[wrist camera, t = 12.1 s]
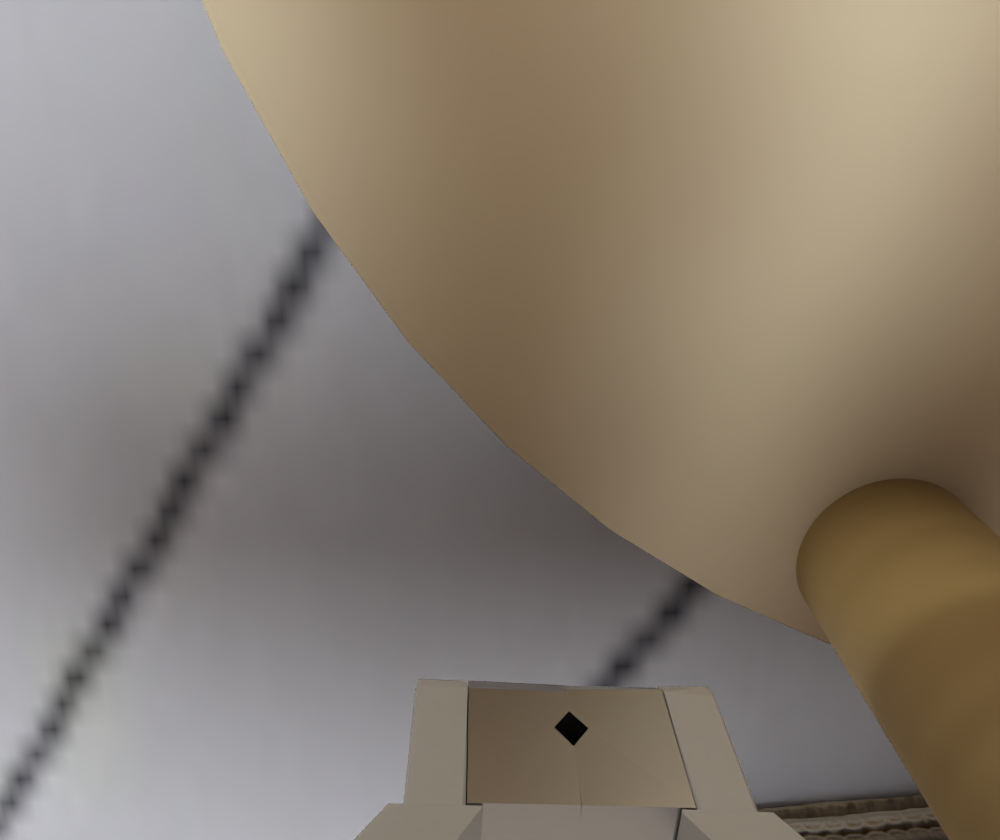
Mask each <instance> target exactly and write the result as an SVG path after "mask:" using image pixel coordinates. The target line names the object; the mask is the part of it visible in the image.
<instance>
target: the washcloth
mask: <svg viewBox="0 0 1000 840" xmlns="http://www.w3.org/2000/svg"><path fill="white" fill-rule="evenodd" d="M757 811H758V812H773V813H775V814H776V815H777V816H778V817H779V818H781V819H782V820H783V821H784V822H785V823H786V824H788V825H789V826H790V827H791V828H792V829H794V830H795V831H796V832H797V833H798V834H800V835H801V836H802V837H803V838H804V839H806V840H949V839H948V837H947V836H946V834H945V832H944V831H943V829H942V827H941V826H940V824H939V823H938V821H937V819H936V818H935V816H934V814H933V813H932V811H931V809H930V808H929V806H928V804H927V803H926V801H925V799H924V798H923V796H922V794H921V795H912V796H908V797H894V798H885V799H866V800H855V799H854V800H849V801H829V802H820V803H811V804H804V805H798V806H785V807H779V808H763V809H759V810H757Z"/></svg>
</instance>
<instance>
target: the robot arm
mask: <svg viewBox="0 0 1000 840" xmlns="http://www.w3.org/2000/svg"><path fill="white" fill-rule="evenodd" d="M467 693H468V695H467ZM354 840H806V839H804V838H803V837H802V836H801V835H800V834H798V833H797V832H796V831H795V830H794V829H792V828H791V827H790V826H789V825H788V824H786V823H785V822H784V821H783V820H782V819H781V818H779V817H778V816H777V815H776V814H775V813H773V812H758V811H757V808H756V806H755V803H754V800H753V798H752V795H751V792H750V790H749V787H748V784H747V782H746V779H745V777H744V774H743V771H742V769H741V766H740V763H739V761H738V758H737V755H736V753H735V750H734V748H733V745H732V742H731V740H730V737H729V734H728V732H727V729H726V726H725V724H724V721H723V718H722V716H721V713H720V711H719V708H718V705H717V703H716V700H715V697H714V695H713V693H712V692H711V691H710V690H709V689H708V688H707V687H658V688H642V687H597V686H564V685H546V684H526V683H507V682H487V681H469V682H468V687H467V682H466V681H454V680H432V679H419V680H418V683H417V686H416V689H415V698H414V707H413V717H412V727H411V736H410V746H409V756H408V765H407V775H406V785H405V794H404V804H387V805H386V806H385V807H384V808H383V809H382V811H381V812H380V813H379V814H378V815H377V816H376V817H375V818H374V819H373V820H372V821H371V822H370V823H369V824H368V825H367V826H366V827H365V829H364V830H363V831H362V832H361V833H360V834H359V835H358V836H357V837H356V838H355V839H354Z"/></svg>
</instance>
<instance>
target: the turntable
mask: <svg viewBox="0 0 1000 840" xmlns="http://www.w3.org/2000/svg"><path fill="white" fill-rule="evenodd" d="M202 2H203V4H204V7H205V9H206V12H207V14H208V16H209V19H210V21H211V24H212V26H213V28H214V31H215V33H216V35H217V38H218V40H219V43H220V45H221V47H222V50H223V52H224V54H225V55H226V57H227V59H228V61H229V63H230V64H231V66H232V68H233V70H234V72H235V73H236V75H237V77H238V79H239V80H240V82H241V84H242V86H243V88H244V89H245V91H246V93H247V95H248V97H249V98H250V100H251V102H252V104H253V106H254V107H255V109H256V111H257V113H258V114H259V116H260V118H261V120H262V122H263V123H264V125H265V127H266V129H267V131H268V132H269V134H270V136H271V138H272V140H273V141H274V143H275V145H276V147H277V149H278V150H279V152H280V154H281V156H282V157H283V159H284V161H285V163H286V165H287V166H288V168H289V170H290V172H291V174H292V175H293V177H294V179H295V181H296V183H297V184H298V186H299V188H300V190H301V191H302V193H303V195H304V197H305V199H306V200H307V202H308V204H309V206H310V208H311V209H312V211H313V212H314V214H315V215H316V217H317V218H318V219H319V221H320V222H321V223H322V225H323V226H324V228H325V229H326V230H327V232H328V233H329V234H330V236H331V237H332V238H333V240H334V241H335V243H336V244H337V245H338V247H339V248H340V249H341V251H342V252H343V254H344V255H345V256H346V258H347V259H348V260H349V262H350V263H351V265H352V266H353V267H354V269H355V270H356V271H357V273H358V274H359V275H360V277H361V278H362V280H363V281H364V282H365V284H366V285H367V286H368V288H369V289H370V291H371V292H372V293H373V295H374V296H375V297H376V299H377V300H378V301H379V303H380V304H381V306H382V307H383V308H384V310H385V311H386V312H387V314H388V315H389V317H390V318H391V319H392V321H393V322H394V323H395V325H396V326H397V328H398V329H399V330H400V332H401V333H402V334H403V336H404V337H405V338H406V340H407V341H408V342H409V343H410V344H411V345H412V347H413V348H414V349H415V350H416V351H417V352H418V353H419V354H420V355H421V356H422V357H423V358H424V359H425V360H426V361H427V362H428V363H429V364H430V366H431V367H432V368H433V369H434V370H435V371H436V372H437V373H438V374H439V375H440V376H441V377H442V378H443V379H444V380H445V381H446V382H447V383H448V385H449V386H450V387H451V388H452V389H453V390H454V391H455V392H456V393H457V394H458V395H459V396H460V397H461V398H462V399H463V400H464V401H465V402H466V404H467V405H468V406H469V407H470V408H471V409H472V410H473V411H474V412H475V413H476V414H477V415H478V416H479V417H480V418H481V419H482V420H483V421H484V423H485V424H486V425H487V426H488V427H489V428H490V429H491V430H492V431H493V432H494V433H495V434H496V435H497V436H498V437H499V438H500V439H501V440H502V442H503V443H504V444H505V445H506V446H507V447H508V448H510V449H511V450H512V451H513V452H515V453H516V454H517V455H518V456H520V457H521V458H522V459H523V460H525V461H526V462H527V463H528V464H529V465H531V466H532V467H533V468H534V469H536V470H537V471H538V472H539V473H541V474H542V475H543V476H544V477H546V478H547V479H548V480H549V481H551V482H552V483H553V484H554V485H555V486H557V487H558V488H559V489H560V490H562V491H563V492H564V493H565V494H567V495H568V496H569V497H570V498H572V499H573V500H574V501H575V502H576V503H578V504H579V505H580V506H581V507H583V508H584V509H585V510H586V511H588V512H589V513H590V514H591V515H593V516H594V517H595V518H596V519H597V520H599V521H600V522H601V523H602V524H604V525H605V526H606V527H607V528H609V529H610V530H611V531H613V532H615V533H616V534H618V535H619V536H621V537H623V538H624V539H626V540H628V541H629V542H631V543H633V544H634V545H636V546H638V547H639V548H641V549H643V550H644V551H646V552H647V553H649V554H651V555H652V556H654V557H656V558H657V559H659V560H661V561H662V562H664V563H666V564H667V565H669V566H670V567H672V568H674V569H675V570H677V571H679V572H680V573H682V574H684V575H685V576H687V577H689V578H690V579H692V580H694V581H695V582H697V583H698V584H700V585H702V586H703V587H705V588H707V589H708V590H710V591H712V592H713V593H715V594H717V595H719V596H721V597H723V598H725V599H728V600H730V601H732V602H735V603H737V604H739V605H741V606H744V607H746V608H748V609H751V610H753V611H755V612H757V613H760V614H762V615H764V616H766V617H769V618H771V619H773V620H776V621H778V622H780V623H782V624H785V625H787V626H789V627H792V628H794V629H796V630H798V631H801V632H803V633H805V634H808V635H810V636H812V637H814V638H817V639H819V640H821V641H823V642H826V643H829V644H831V645H832V646H833V648H834V650H835V651H836V653H837V655H838V656H839V658H840V660H841V661H842V663H843V664H844V666H845V668H846V669H847V671H848V673H849V674H850V676H851V678H852V679H853V681H854V683H855V684H856V686H857V688H858V689H859V691H860V693H861V694H862V696H863V698H864V699H865V701H866V703H867V704H868V706H869V708H870V709H871V711H872V713H873V714H874V716H875V718H876V719H877V721H878V723H879V724H880V726H881V728H882V729H883V731H884V733H885V734H886V736H887V738H888V739H889V741H890V743H891V744H892V746H893V748H894V749H895V751H896V753H897V754H898V756H899V758H900V759H901V761H902V763H903V764H904V766H905V768H906V769H907V771H908V773H909V774H910V776H911V778H912V779H913V781H914V783H915V784H916V786H917V788H918V789H919V791H920V793H921V794H922V796H923V798H924V799H925V801H926V803H927V804H928V806H929V808H930V809H931V811H932V813H933V814H934V816H935V818H936V819H937V821H938V823H939V824H940V826H941V827H942V829H943V831H944V832H945V834H946V836H947V837H948V839H949V840H1000V0H202Z"/></svg>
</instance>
